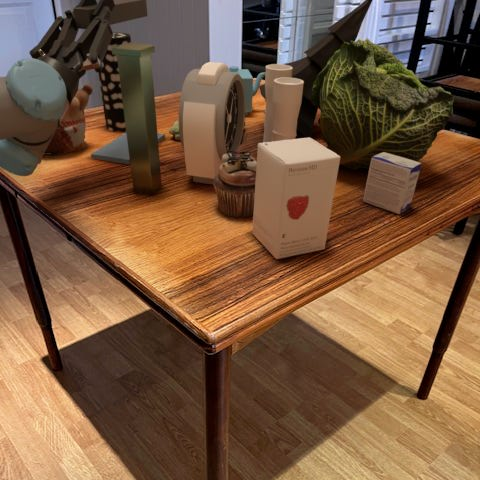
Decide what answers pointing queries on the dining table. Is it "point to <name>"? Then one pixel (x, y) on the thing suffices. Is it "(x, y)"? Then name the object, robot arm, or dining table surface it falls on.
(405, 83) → the cabbage
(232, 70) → the teapot
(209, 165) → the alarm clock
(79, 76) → the robot arm
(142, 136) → the olive green post
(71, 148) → the figurine
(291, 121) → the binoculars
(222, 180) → the cupcake
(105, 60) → the white-spotted black cylinder
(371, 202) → the box
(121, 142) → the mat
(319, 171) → the rectangular carton
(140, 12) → the bar
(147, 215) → the dining table surface
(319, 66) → the decorative tree
